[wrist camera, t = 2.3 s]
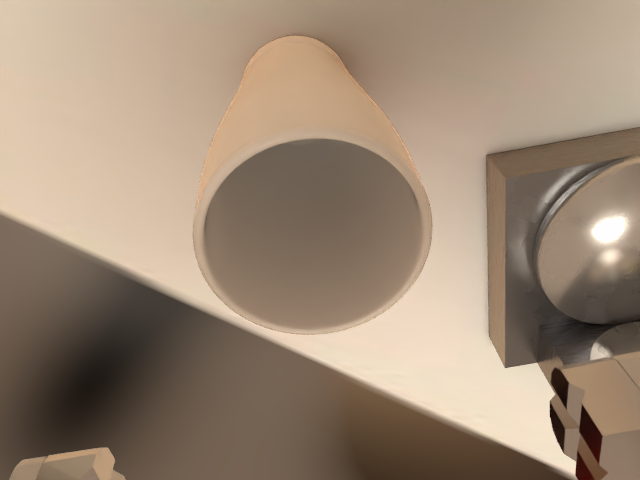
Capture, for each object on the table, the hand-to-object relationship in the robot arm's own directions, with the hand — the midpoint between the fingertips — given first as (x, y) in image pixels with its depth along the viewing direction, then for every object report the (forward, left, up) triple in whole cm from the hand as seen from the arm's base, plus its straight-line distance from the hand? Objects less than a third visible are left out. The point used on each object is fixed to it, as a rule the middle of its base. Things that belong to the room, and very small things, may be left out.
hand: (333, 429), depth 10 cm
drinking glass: (0, 0, -21) cm, 21 cm away
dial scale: (+12, +16, -21) cm, 29 cm away
